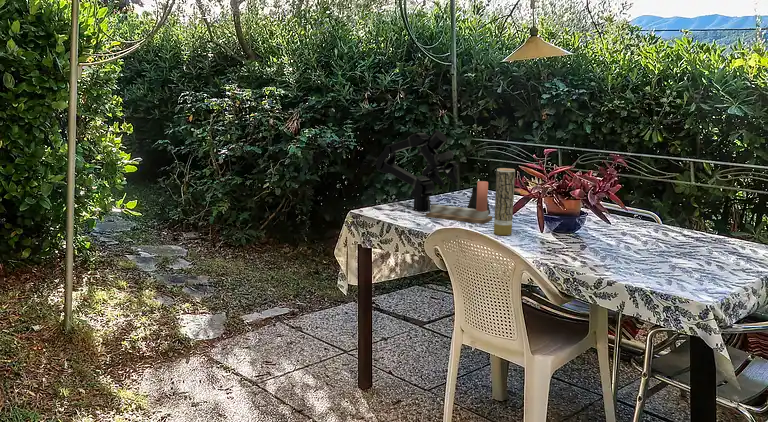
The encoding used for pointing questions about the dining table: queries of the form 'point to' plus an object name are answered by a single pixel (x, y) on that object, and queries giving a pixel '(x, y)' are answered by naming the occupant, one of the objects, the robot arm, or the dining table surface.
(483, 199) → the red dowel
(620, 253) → the dining table surface
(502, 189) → the bark log
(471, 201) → the door stopper
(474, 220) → the ridge board
